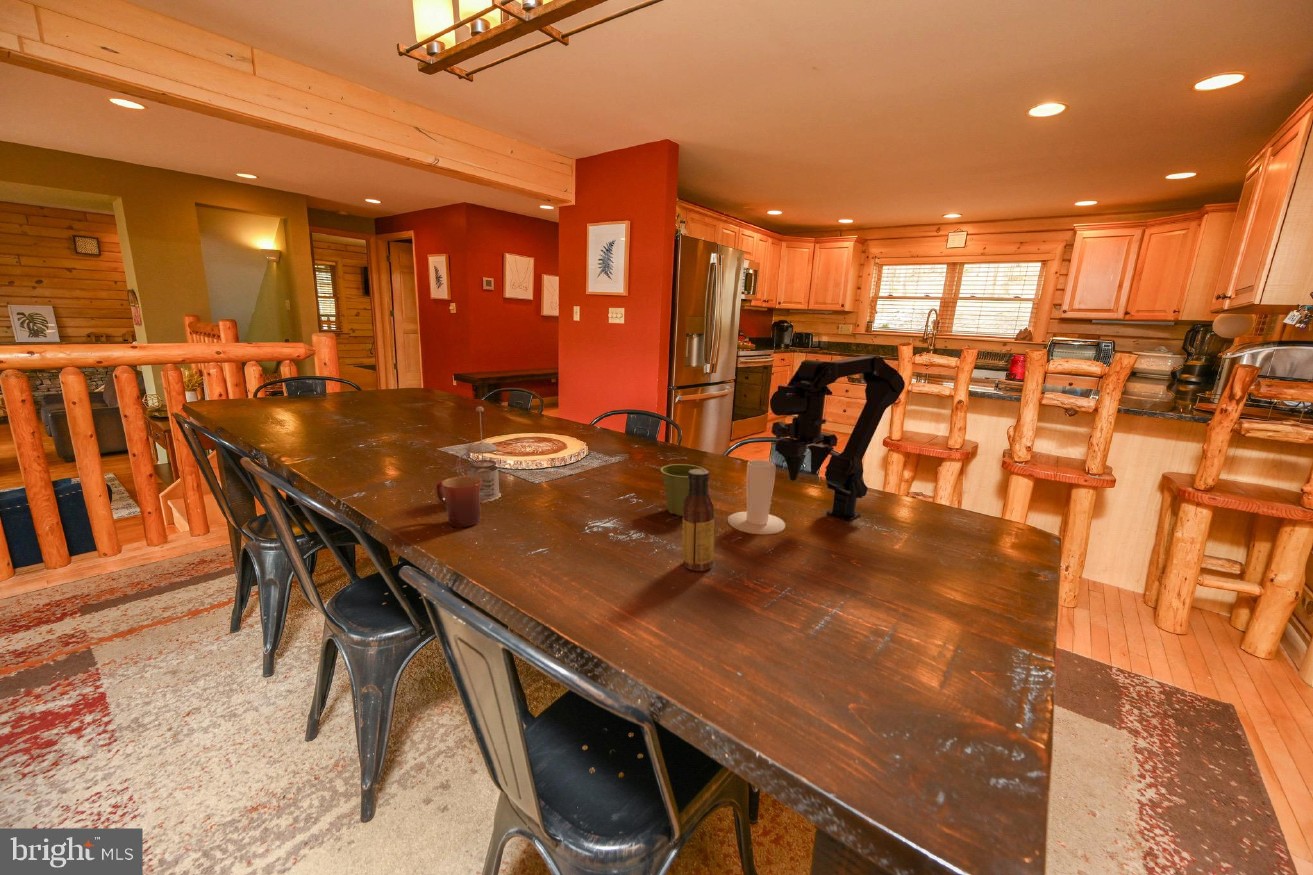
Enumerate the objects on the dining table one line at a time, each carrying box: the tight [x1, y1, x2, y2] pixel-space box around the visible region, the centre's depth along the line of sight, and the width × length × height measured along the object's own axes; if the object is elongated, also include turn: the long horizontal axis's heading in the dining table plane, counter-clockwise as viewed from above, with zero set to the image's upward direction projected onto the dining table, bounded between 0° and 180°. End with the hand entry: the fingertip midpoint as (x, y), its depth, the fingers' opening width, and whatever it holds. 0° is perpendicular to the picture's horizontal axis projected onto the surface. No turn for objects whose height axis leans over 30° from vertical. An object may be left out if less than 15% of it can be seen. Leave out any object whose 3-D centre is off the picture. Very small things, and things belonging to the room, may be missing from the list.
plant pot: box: [660, 463, 706, 517], centre depth 128 cm, size 12×12×11 cm
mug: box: [435, 475, 483, 529], centre depth 117 cm, size 12×9×10 cm
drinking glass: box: [745, 459, 776, 525], centre depth 122 cm, size 7×7×15 cm
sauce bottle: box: [681, 468, 715, 572], centre depth 98 cm, size 7×6×20 cm
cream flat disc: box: [727, 510, 786, 536], centre depth 124 cm, size 14×14×1 cm
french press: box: [455, 406, 502, 502], centre depth 132 cm, size 10×12×25 cm
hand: (803, 477), depth 121 cm, fingers open, 9 cm apart
